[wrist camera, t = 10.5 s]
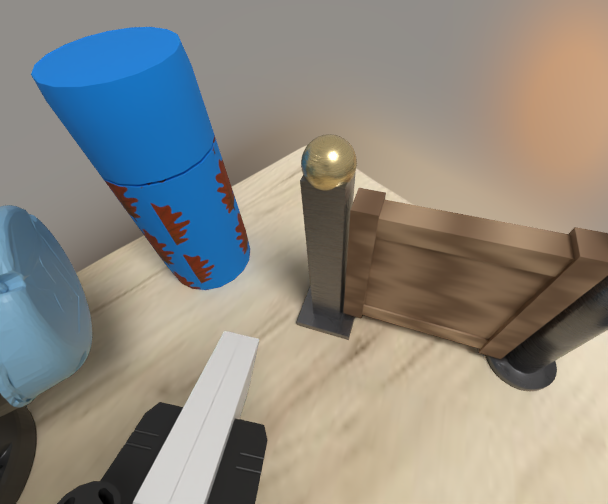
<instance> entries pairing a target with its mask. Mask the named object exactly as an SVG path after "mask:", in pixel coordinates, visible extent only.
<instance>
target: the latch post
mask: <svg viewBox="0 0 608 504" xmlns="http://www.w3.org/2000/svg"><path fill="white" fill-rule="evenodd" d="M356 166H357V159H356V154H355V151H354V149H353V148H352V146H351V145H350V143H349V142H348V141H346V140H345V139H344V138H342V137H340V136H337V135H331V134H328V135H322V136H319V137H317V138H315V139H314V140H312V141H311V142H310V143H309V144H308V145H307V147H306V148H305V150H304V152H303V155H302V160H301V168H302V172H303V176H302V178H301V180H300V184H301V194H302V204H303V214H304V224H305V234H306V244H307V254H308V264H309V274H310V284H311V285H310V288H309V290H308V293H307V296H306V298H305V301H304V304H303V306H302V309H301V312H300V314H299V317H298V320H297V325H299V326H303V327H306V328H310V329H313V330H317V331H320V332H323V333H327V334H330V335H334V336H337V337H341V338H344V339H347V340H349V337H350V333H351V329H352V326H353V322H354V318H355V316H352V315H348V314H345V313H343V312H344V297H345V282H346V268H347V253H348V238H349V224H350V210H351V207H352V205H353V196H354V182H355V171H356Z"/></svg>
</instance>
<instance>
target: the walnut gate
mask: <svg viewBox="0 0 608 504" xmlns="http://www.w3.org/2000/svg"><path fill="white" fill-rule="evenodd" d="M385 195H386V193H385V192H379V191H374V190H368V189H363V188H359V189H358V191H357V194H356V197H355V199H354V202H353V205H352V207H351V210H350V224H349V238H348V253H347V268H346V282H345V297H344V312H343V313H345V314H348V315H352V316H355V317H358V318H361V317H362V315H365V316H368V317H372V318H375V319H379V320H382V321H386V322H389V323H393V324H396V325H399V326H403V327H406V328H410V329H413V330H417V331H420V332H424V333H427V334H431V335H434V336H438V337H441V338H444V339H448V340H451V341H455V342H458V343H462V344H465V345H469V346H472V347H476V348H479V353H482V354H485V355H488V356H492V357H495V358H499V359H501V358H503V357H504V356H505V355H507V354H508V353H509V352H510V351H512V350H513V349H514V348H516V347H517V346H518V345H519V344H521V343H522V342H523V341H525V340H526V339H527V338H528V337H530V336H531V335H532V334H534V333H535V332H536V331H537V330H539V329H540V328H541V327H542V326H544V325H545V324H546V323H548V322H549V321H550V320H551V319H553V318H554V317H555V316H557V315H558V314H559V313H560V312H562V311H563V310H564V309H566V308H567V307H568V306H569V305H571V304H572V303H573V302H574V301H576V300H577V299H578V298H580V297H581V296H582V295H583V294H585V293H586V292H587V291H589V290H590V289H591V288H592V287H594V286H595V285H596V284H598V283H599V282H600V281H601V280H603V279H604V278H605V277H607V276H608V233H603V232H598V231H592V230H587V229H581V228H576V227H575V228H574V229H573V230H572V231H571V232H570V233H569V234H564V233H558V232H553V231H548V230H542V229H537V228H532V227H527V226H521V225H516V224H511V223H505V222H500V221H495V220H489V219H484V218H479V217H473V216H468V215H463V214H458V213H452V212H447V211H442V210H436V209H431V208H425V207H420V206H415V205H410V204H405V203H399V202H394V201H389V200H385Z"/></svg>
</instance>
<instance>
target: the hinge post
mask: <svg viewBox="0 0 608 504" xmlns="http://www.w3.org/2000/svg"><path fill="white" fill-rule="evenodd" d="M606 330H608V276H607V277H605V278H604V279H603V280H601V281H600V282H599V283H598V284H596V285H595V286H594V287H592V288H591V289H590V290H589V291H587V292H586V293H585V294H583V295H582V296H581V297H580V298H578V299H577V300H576V301H574V302H573V303H572V304H571V305H569V306H568V307H567V308H566V309H564V310H563V311H562V312H560V313H559V314H558V315H557V316H555V317H554V318H553V319H551V320H550V321H549V322H548V323H546V324H545V325H544V326H542V327H541V328H540V329H539V330H537V331H536V332H535V333H534V334H532V335H531V336H530V337H528V338H527V339H526V340H525V341H523V342H522V343H521V344H519V345H518V346H517V347H516V348H514V349H513V350H512V351H510V352H509V353H508V354H507V355H505V356H504V357H503V358H501V359H499V358H495V357H492V356H488V355H486V356H487V360H488V362H489V365H490V366H491V368H492V370H493V371H494V372H495V373H496V375H497V376H498V377H499V378H500V379H502V380H503V381H504V382H505V383H507V384H508V385H510V386H512V387H514V388H517V389H520V390H524V391H537V390H540V389H543V388H545V387H547V386H548V385H550V384H551V383H552V382H553V380H554V379H555V377H556V372H557V367H556V362H555V360H557V359H558V358H560V357H562V356H564V355H565V354H567V353H569V352H570V351H572V350H574V349H576V348H577V347H579V346H581V345H582V344H584V343H586V342H588V341H589V340H591V339H593V338H594V337H596V336H598V335H600V334H601V333H603V332H605V331H606Z"/></svg>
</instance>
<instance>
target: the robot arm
mask: <svg viewBox="0 0 608 504" xmlns="http://www.w3.org/2000/svg"><path fill="white" fill-rule="evenodd" d="M91 344H92V321H91V315H90V311H89V307H88V303H87V300H86V297H85V294H84V291H83V288H82V286H81V283H80V281H79V278H78V276H77V274H76V272H75V270H74V268H73V266H72V264H71V262H70V260H69V259H68V257H67V255H66V254H65V252H64V250H63V249H62V247H61V246H60V244H59V243H58V241H57V240H56V239H55V237H54V236H53V235H52V233H51V232H50V231H49V230H48V229H47V227H46V226H45V225H44V224H43V223H42V222H41V221H40V220H39V219H38V218H36V217H35V216H33V215H31V214H28V213H27V211H26V210H24V209H21V208H19V207H17V206H12V205H7V206H1V207H0V504H15V503H16V502H17V500H18V498H19V496H20V494H21V492H22V490H23V488H24V485H25V483H26V481H27V478H28V475H29V472H30V470H31V466H32V463H33V458H34V453H35V446H36V431H35V425H34V421H33V419H32V416H31V414H30V412H29V411H28V409H27V408H26V407H25V405H27V404H29V403H30V402H32V401H33V400H34V399H35V398H36V397H37V395H39V394H41V393H43V392H44V391H46V390H48V389H49V388H51V387H53V386H54V385H56V384H58V383H60V382H61V381H63V380H65V379H66V378H68V377H70V376H71V375H73V374H74V373H75V372H76V371H77V370H78V369H79V368H80V367H81V366H82V365H83V363H84V362H85V360H86V359H87V357H88V355H89V352H90V348H91ZM258 344H259V339H257V338H253V337H249V336H244V335H240V334H236V333H232V332H227V331H224V333H223V334H222V336H221V338H220V340H219V342H218V344H217V346H216V348H215V349H214V351H213V353H212V355H211V357H210V359H209V361H208V362H207V364H206V366H205V368H204V370H203V372H202V374H201V376H200V377H199V379H198V381H197V383H196V385H195V387H194V389H193V391H192V392H191V394H190V396H189V398H188V400H187V402H186V404H185V406H184V407H179V406H175V405H170V404H166V403H162V402H159V403H158V404H157V405H155V406H154V407H153V408H152V409H150V410H149V411H148V412H146V413H145V415H144V416H143V418H142V419H141V421H140V422H139V424H138V425H137V427H136V428H135V431H134V432H133V433H132V434H131V436H130V437H129V439H128V440H127V442H126V444H125V445H124V446H123V448H122V449H121V451H120V452H119V454H118V455H117V457H116V458H115V460H114V461H113V463H112V464H111V466H110V467H109V469H108V470H107V472H106V473H105V475H104V476H103V478H102V479H101V481H93V482H90V483H87V484H84V485H80V486H78V487H77V488H75V489H74V490H72V491H71V492H69V493H67V494H66V495H65V496H64V497H63V498H62V499H61V500H60V501H59V502H58V503H57V504H255V501H256V496H257V491H258V486H259V481H260V475H261V470H262V465H263V460H264V455H265V450H266V445H267V437H266V432H265V427H264V425H262V424H257V423H253V422H249V421H244V420H240V416H241V413H242V410H243V406H244V403H245V400H246V397H247V394H248V390H249V386H250V382H251V377H252V372H253V367H254V363H255V358H256V353H257V348H258Z"/></svg>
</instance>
